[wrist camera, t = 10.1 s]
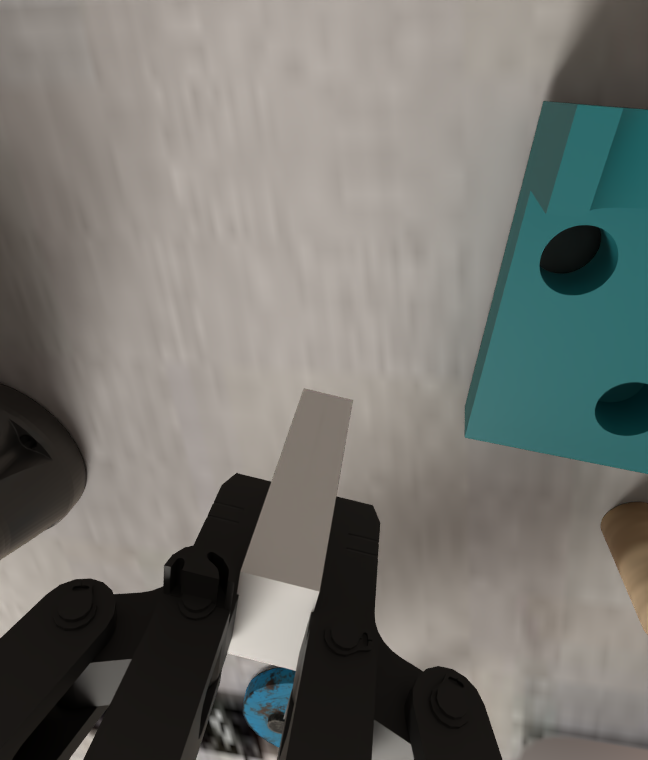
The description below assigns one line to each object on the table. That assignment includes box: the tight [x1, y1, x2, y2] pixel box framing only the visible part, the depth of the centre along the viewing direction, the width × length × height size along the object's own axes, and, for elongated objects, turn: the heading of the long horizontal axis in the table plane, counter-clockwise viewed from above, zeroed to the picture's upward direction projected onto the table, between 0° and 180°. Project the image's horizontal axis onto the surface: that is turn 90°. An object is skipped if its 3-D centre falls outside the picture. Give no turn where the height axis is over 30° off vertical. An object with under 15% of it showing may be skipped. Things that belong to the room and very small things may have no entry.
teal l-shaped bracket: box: [465, 101, 648, 474], centre depth 25 cm, size 18×11×10 cm, turn 176°
